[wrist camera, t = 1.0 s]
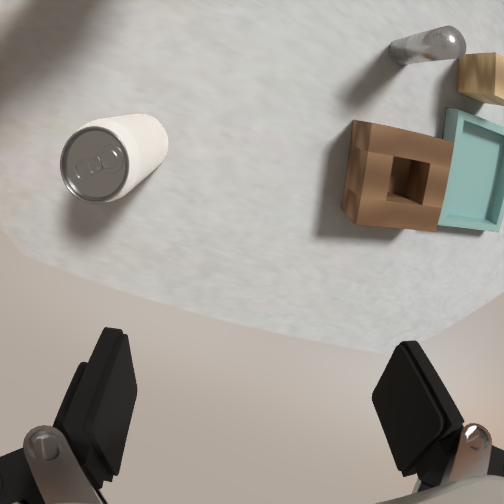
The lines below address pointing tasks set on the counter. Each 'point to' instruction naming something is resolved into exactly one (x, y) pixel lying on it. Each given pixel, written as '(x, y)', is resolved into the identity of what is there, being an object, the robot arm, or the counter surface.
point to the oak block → (482, 77)
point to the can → (112, 156)
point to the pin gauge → (429, 46)
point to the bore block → (395, 177)
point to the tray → (474, 173)
